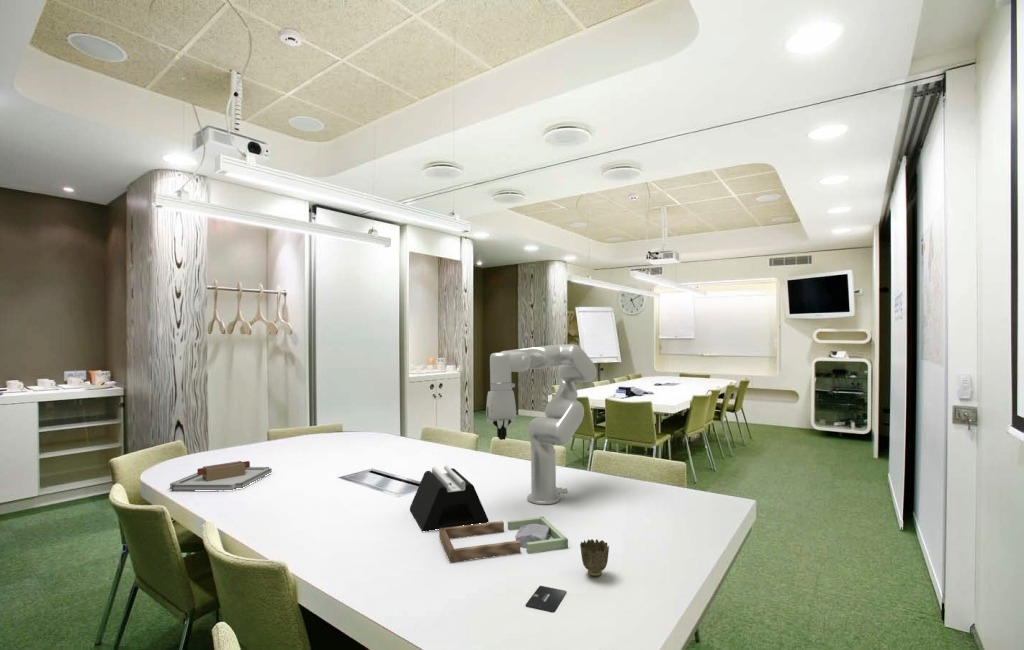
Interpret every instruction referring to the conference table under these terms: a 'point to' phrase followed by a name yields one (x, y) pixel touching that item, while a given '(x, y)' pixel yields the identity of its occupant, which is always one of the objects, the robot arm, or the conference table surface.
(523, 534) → the stone block
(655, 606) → the conference table surface
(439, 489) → the device stand
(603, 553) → the cup
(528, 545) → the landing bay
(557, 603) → the solid state drive
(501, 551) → the brown wooden u frame
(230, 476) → the grey flat square tray
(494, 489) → the conference table surface
